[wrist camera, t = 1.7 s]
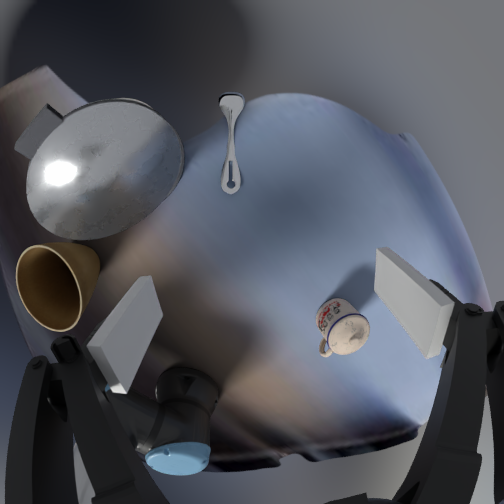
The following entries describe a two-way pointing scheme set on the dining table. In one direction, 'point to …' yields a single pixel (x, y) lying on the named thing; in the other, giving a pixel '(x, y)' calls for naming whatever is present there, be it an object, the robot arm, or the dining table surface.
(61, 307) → the plant pot
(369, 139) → the dining table surface
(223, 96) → the stirrer
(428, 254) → the dining table surface
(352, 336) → the teacup with lid
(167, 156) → the lid
